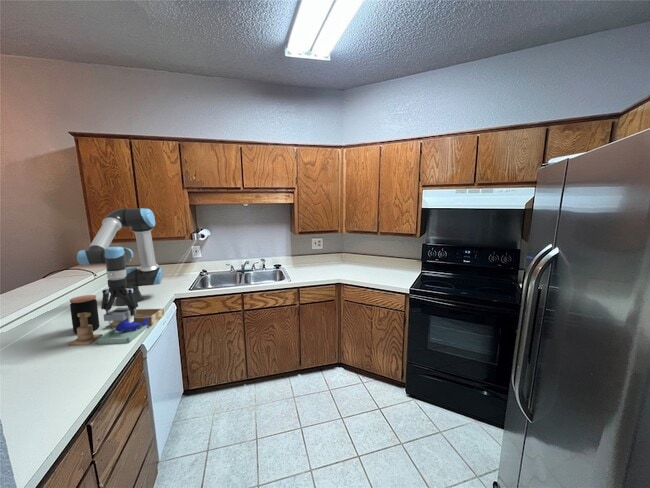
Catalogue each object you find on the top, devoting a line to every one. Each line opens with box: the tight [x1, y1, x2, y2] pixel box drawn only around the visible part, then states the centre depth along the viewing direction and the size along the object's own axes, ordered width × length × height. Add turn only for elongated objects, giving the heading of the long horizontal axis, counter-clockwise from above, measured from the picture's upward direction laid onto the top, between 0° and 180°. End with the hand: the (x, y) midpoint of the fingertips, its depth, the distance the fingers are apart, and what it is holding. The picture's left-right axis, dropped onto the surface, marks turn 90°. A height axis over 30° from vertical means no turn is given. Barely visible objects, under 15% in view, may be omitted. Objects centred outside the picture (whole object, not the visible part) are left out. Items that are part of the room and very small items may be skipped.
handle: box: [68, 312, 103, 346], centre depth 134 cm, size 9×9×14 cm
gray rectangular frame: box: [103, 307, 137, 322], centre depth 138 cm, size 9×12×3 cm
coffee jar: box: [69, 294, 100, 335], centre depth 145 cm, size 11×11×18 cm
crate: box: [109, 308, 165, 329], centre depth 155 cm, size 13×22×6 cm, turn 93°
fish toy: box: [115, 318, 150, 331], centre depth 144 cm, size 15×8×7 cm, turn 117°
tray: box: [95, 325, 148, 345], centre depth 140 cm, size 16×15×2 cm
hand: (121, 322), depth 138 cm, fingers closed on gray rectangular frame, 9 cm apart
